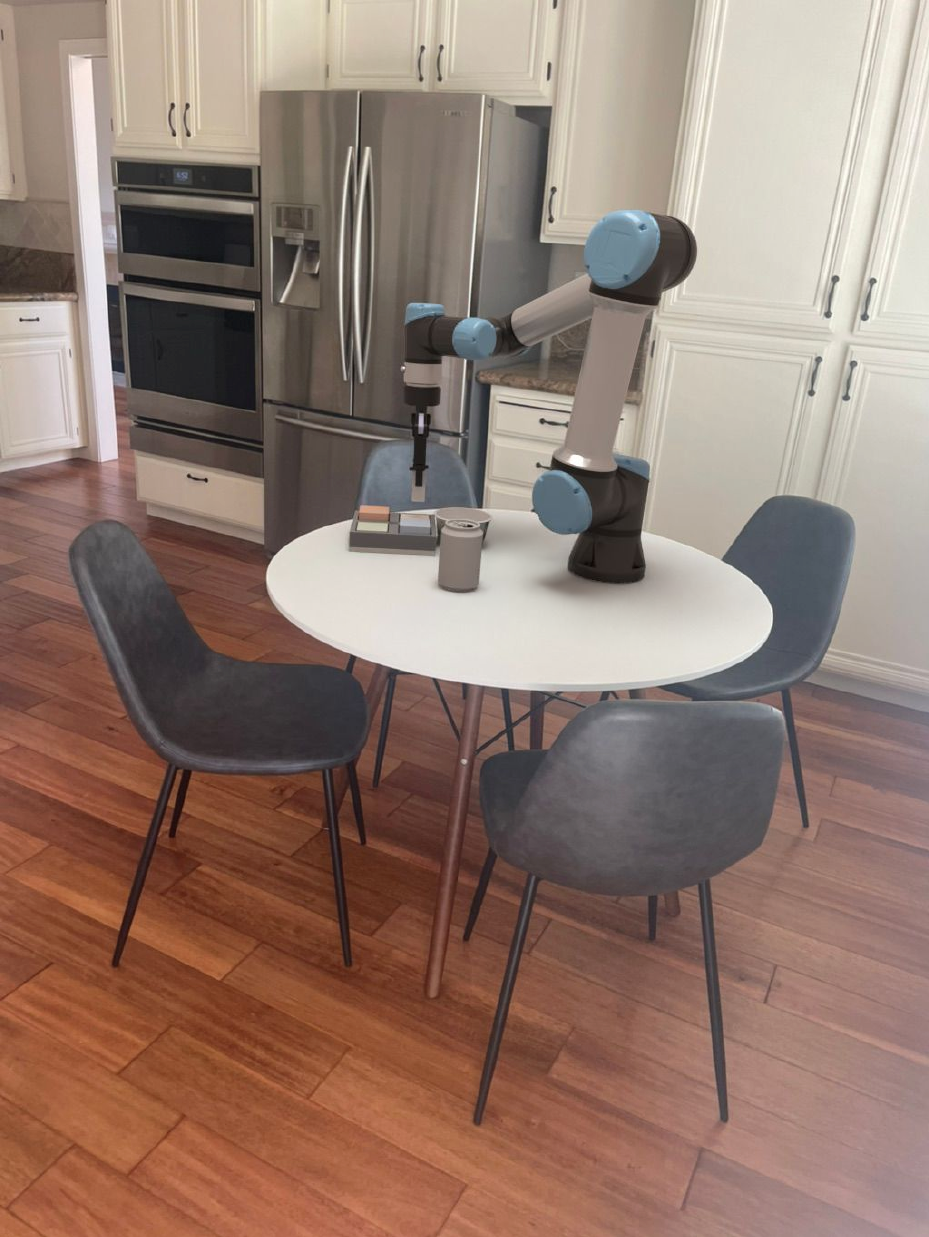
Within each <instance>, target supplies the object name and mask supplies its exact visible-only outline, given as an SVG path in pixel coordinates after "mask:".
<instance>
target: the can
mask: <svg viewBox="0 0 929 1237" xmlns="http://www.w3.org/2000/svg"><path fill="white" fill-rule="evenodd" d="M445 524H446V525H445V526H444V527H443V528H442V529H441V541H440V545H439V559H438V575H437V582H438V584H439V585H441V587H442V588H443V589H445V590H447V591H452V592H460V593H463V592H470V591H472V590H475V588H476V587H478V586H479V585H480V575H481V574H480V572H481V560H482V552H483V551H482V549H483V548H482V539H483V532H482V530H481V529H480V528H479V527H480V524H479V523H478V522H476V521H473V520H468V519H450V520H447V521H446V522H445Z"/></svg>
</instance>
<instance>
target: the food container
mask: <svg viewBox="0 0 929 1237" xmlns="http://www.w3.org/2000/svg"><path fill="white" fill-rule="evenodd" d="M433 515H435V521H436V531H437V536H438V538H437V539H438V544H439V546H440V541H441V529H442V528H443V527H444V526H445V525H446V524H445V522H446V521H447V520H450V519H468V520H473V521H476V522H478V523H479V524H480V527H479V528H480V529H481V530H482V532H483V539H482V549H483V547H484V543H485V540H486V536H487V534H488V528H489V525H490V522H491V521H492V520H493V516H492V514H490V513H489V512H486V511H484V510H481V509H476V508H470V507H461V506H459V507H458V506H454V507H453V506H452V507H451V506H450V507H449V506H448V507H442V508H438V509H437V510H435V511H434V512H433Z"/></svg>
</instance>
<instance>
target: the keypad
mask: <svg viewBox="0 0 929 1237" xmlns="http://www.w3.org/2000/svg"><path fill="white" fill-rule="evenodd" d="M359 511H360V510H354V514H353V517H352V522H351V526H350V529H349V542H348V543H349V546H348V547H349V548H348V551H349V552H350V553H351V552H353V553H354V552H355V553H369V554H370V553H371V554H387V555H389V554H392V555H394V554H395V555H407V556H408V555H409V556H424V557H425V556H427V557H436V551H437V550H436V548H437V523H436V516H435V515H434V514H426V513H425V514H424V513H409V512H408V513H407V512H391V511H389V521H371V520H359ZM401 514H412V515H429V519H430V535H421V534H403V533H400V518H401ZM358 522H367V523H385V524H388V533H385V532H367V531H357V526H358Z"/></svg>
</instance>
